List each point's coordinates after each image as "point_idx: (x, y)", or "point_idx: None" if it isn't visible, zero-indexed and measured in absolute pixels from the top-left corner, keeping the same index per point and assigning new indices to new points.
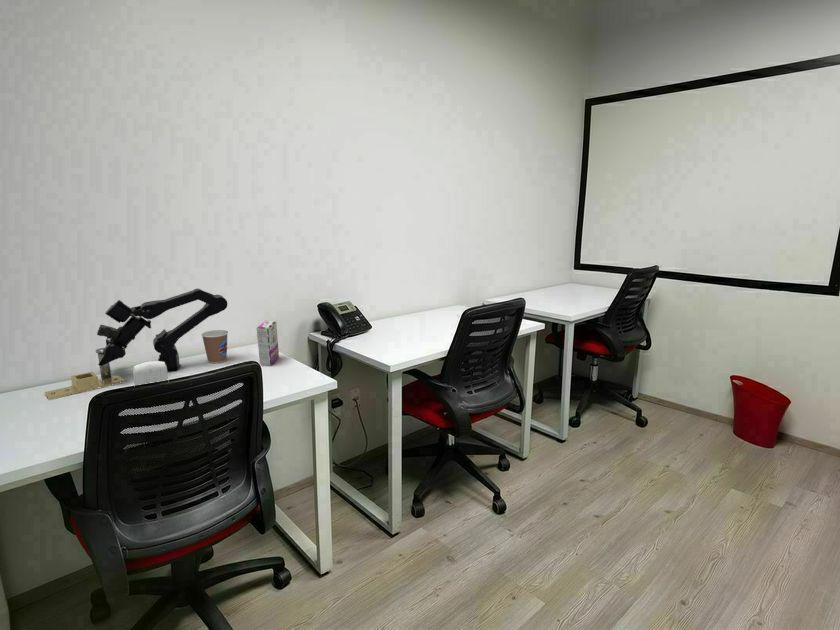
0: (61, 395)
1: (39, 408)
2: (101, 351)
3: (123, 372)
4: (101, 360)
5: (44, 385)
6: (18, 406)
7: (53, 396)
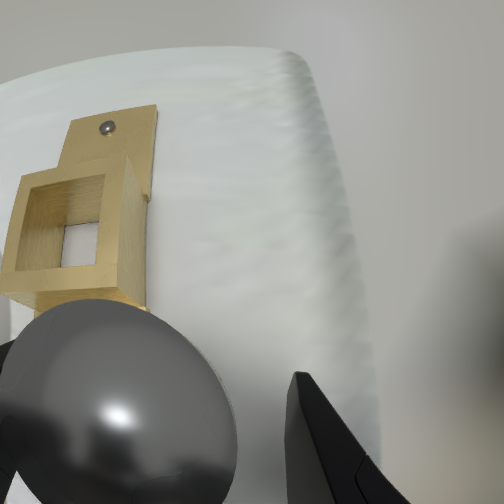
0: (62, 156)
1: (31, 114)
2: (6, 378)
3: (268, 500)
4: (9, 345)
5: (293, 116)
6: (102, 69)
7: (69, 131)
